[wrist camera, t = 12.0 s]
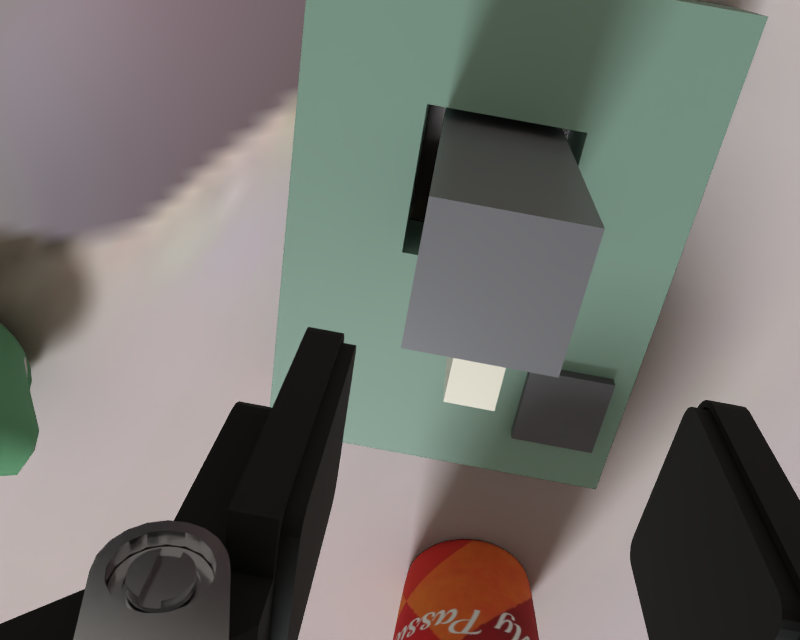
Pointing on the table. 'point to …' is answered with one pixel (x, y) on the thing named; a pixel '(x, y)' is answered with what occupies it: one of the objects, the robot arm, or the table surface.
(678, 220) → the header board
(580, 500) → the table surface
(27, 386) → the alien toy
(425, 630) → the paper cup
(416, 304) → the keyed plug
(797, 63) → the table surface
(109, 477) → the table surface
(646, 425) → the table surface
